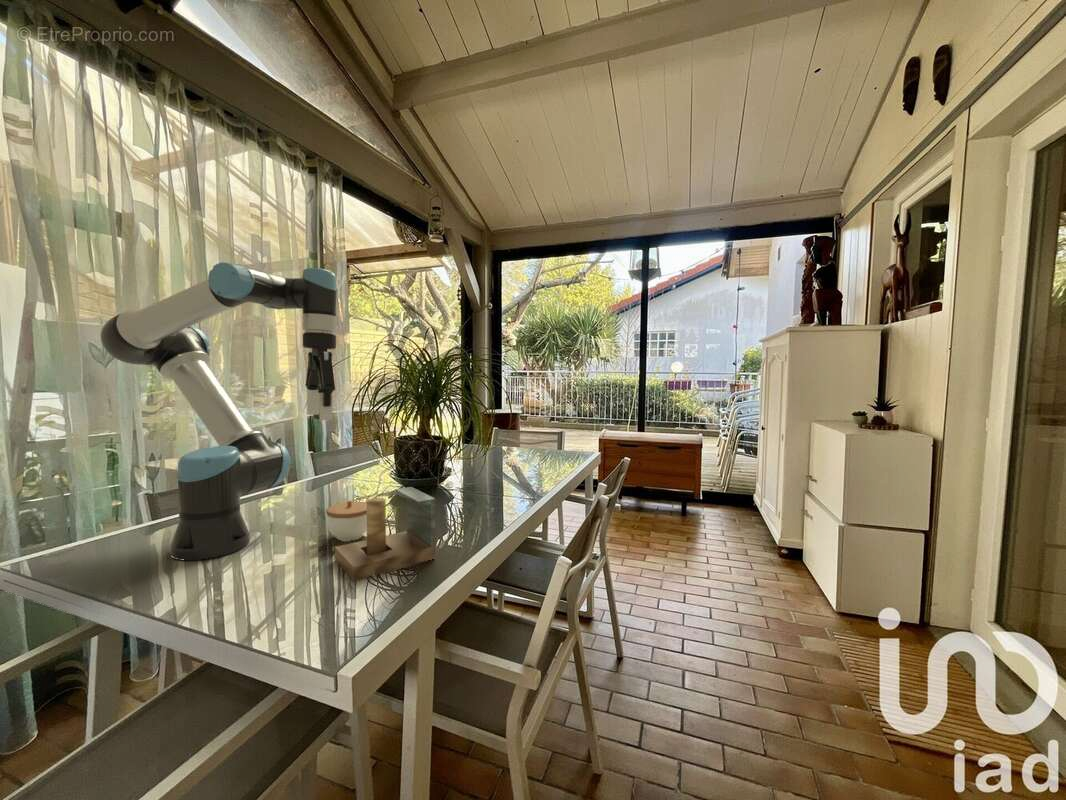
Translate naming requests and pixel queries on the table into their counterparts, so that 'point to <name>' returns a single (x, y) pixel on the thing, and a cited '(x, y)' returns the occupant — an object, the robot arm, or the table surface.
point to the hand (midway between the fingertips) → (319, 417)
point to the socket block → (395, 541)
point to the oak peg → (376, 526)
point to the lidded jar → (347, 520)
